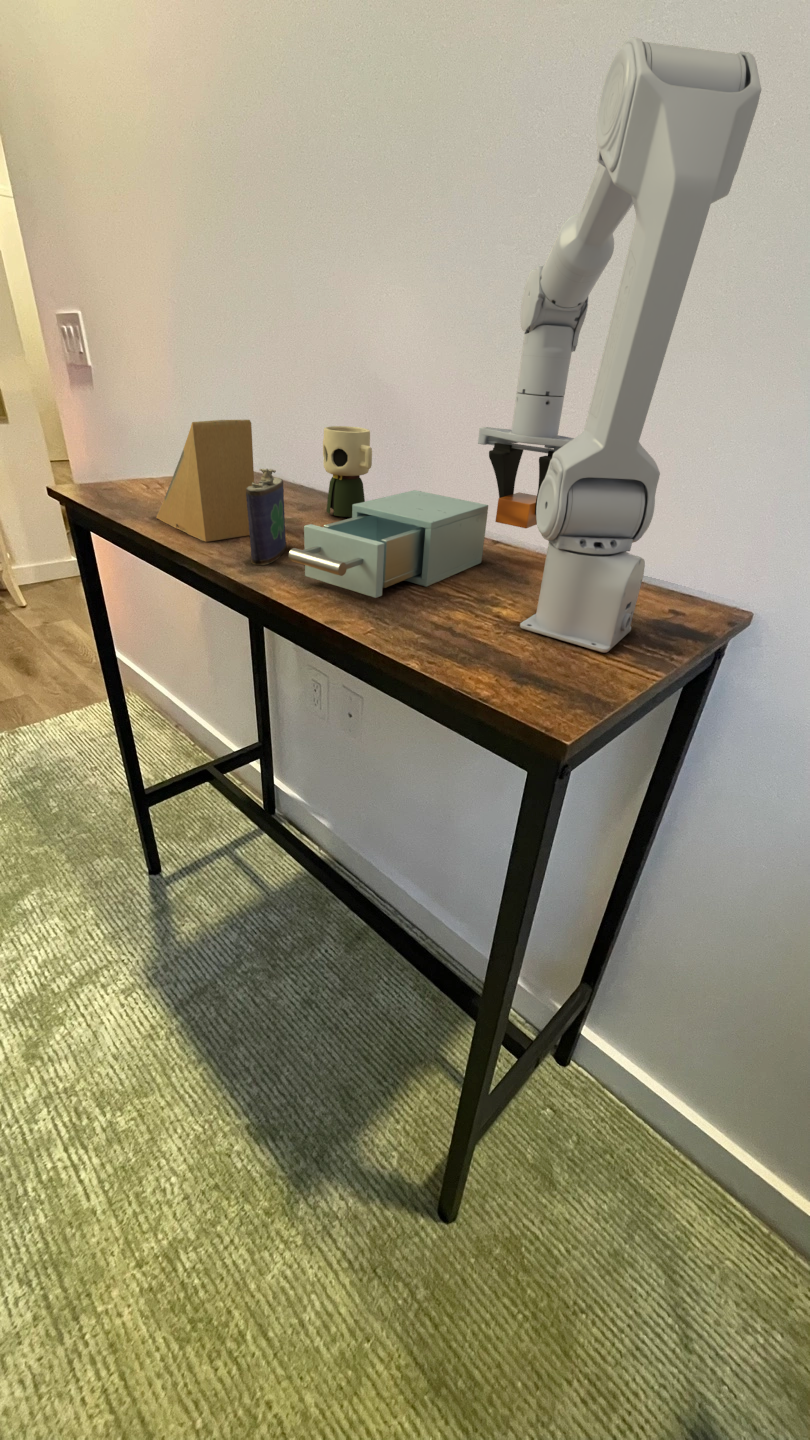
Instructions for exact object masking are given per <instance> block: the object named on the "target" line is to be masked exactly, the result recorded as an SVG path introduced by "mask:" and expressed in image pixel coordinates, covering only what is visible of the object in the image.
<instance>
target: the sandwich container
mask: <svg viewBox="0 0 810 1440" xmlns="http://www.w3.org/2000/svg"><path fill="white" fill-rule="evenodd" d="M252 428H253V427H252V422H251V419H213V420H199V421H192V422H191V424H190V428H189V431H188V435H187V436H186V440H185V443H184V446H183V449H182V452H181V454H180V457H179V460H178V462H177V465H176V467H175V470H174V473H173V475H172V478H171V481H170V483H169V486H168V489H167V490H166V493H165V496H164V498H163V499H162V500H163V501H162V503H161V505H160V508H159V510H158V512H157V515H156V517H155V518H156V519H158V520H159V521H161V522H163V523H164V524H167V525H169V526H171V527H173V528H175V529H177V530H179V531H181V532H183V533H185V534H187V535H189V536H191V537H194V538H195V539H198V540H200V541H203V542H205V543H207V542H208V543H209V542H215V541H220V540H226V539H227V540H228V539H235V538H240V537H246V536H250V535H249V521H248V511H247V501H246V499H247V498H246V488H248V486H252V483H255V471H254V451H253V450H254V449H253V430H252Z"/></svg>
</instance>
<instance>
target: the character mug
mask: <svg viewBox="0 0 810 1440" xmlns="http://www.w3.org/2000/svg"><path fill="white" fill-rule="evenodd" d="M322 457H323V468H324V470H325V472H326V473H327V474H330V475H332V476H331V478H330V480H329V485H328V492H327V503H326V513H327V514H329V515H330V514H331V510H333V516H335V517H343V518H344V517H348V518H352V505H353V504H357V503H361V502H366V499H365V489H364V482H363V480H362V478H361V476H364V475H366V474H368V473H369V471H370V469H371V468H372V466H373V449H372V447H371V430H370V429H368V428H364V427H359V426H345V425H333V426H332V425H331V426H326V427H324V428H323V439H322Z"/></svg>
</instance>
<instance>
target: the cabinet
mask: <svg viewBox="0 0 810 1440" xmlns="http://www.w3.org/2000/svg"><path fill="white" fill-rule="evenodd" d="M365 514H368V515H372V516H376V517H380V518H385V519H389V520H393V521H397V522H402V523H406V524H410V525H414V526H419V527H423V528H426V529H425V541H424V554H423V567H422V573H421V574H418V575H416V576H413V577H411V578H408V579H406V580H404V581H405V582H409V583H412V584H415V585H418V586H422V587H425V588H427V587H429V586H432V585H434V584H436V583H438V582H441V581H443V580H445V579H448V578H450V577H452V576H455V575H456V574H459V573H461V572H464V571H466V570H468V569H470V568H473V567H475V566H478V565H480V564H481V563H482V560H483V553H484V546H485V537H486V529H487V521H488V514H489V504H486V503H480V502H475V501H471V500H465V499H461V498H455V497H450V496H445V495H440V494H436V493H431V492H426V491H421V490H416V489H413V490H410V491H404V492H400V493H396V494H391V495H388V496H383V497H379V498H375V499H370V500H365V502H361V503H357V504H353V505H352V518H354V517H358V516H362V515H365Z"/></svg>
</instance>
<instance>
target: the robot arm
mask: <svg viewBox="0 0 810 1440" xmlns="http://www.w3.org/2000/svg"><path fill="white" fill-rule="evenodd" d="M761 93H762V86H761V80H760V74H759V70H758V64H757V59H756V57H755V56H754V54H753V53H751V52H750V51H739V52H738V53H733V52H725V51H719V50H711V49H703V48H695V47H687V46H679V45H674V44H673V45H672V44H664V43H657V42H650V41H644V40H643V39H642V38H639V37H636V36H631V37H629V38H627V39H626V41H625V42H624V43H623V44H622V46H621V47H620V48H619V49H618V50H617V52H616V53H615V54H614V56H613V58H612V60H611V62H610V65H609V67H608V70H607V73H606V75H605V78H604V81H603V84H602V88H601V93H600V98H599V101H598V102H599V103H598V108H597V114H596V124H595V139H596V144H597V145H596V146H597V147H596V161H597V162H598V164H597V166H596V169H595V172H594V174H593V177H592V180H591V183H590V184H589V188H588V190H587V193H586V196H585V199H584V201H583V204H582V206H581V209H580V212H579V213H576V214H573V215H572V216H570V217H569V218H566V220H565V221H564V222H563V224H562V226H561V227H560V229H559V232H558V233H557V236H556V238H555V240H554V242H553V245H552V246H551V249H550V252H549V254H548V256H547V259H545V262H544V264H542V265H537V267H536V268H533V269H532V270H530V271H529V273H528V276H527V278H526V281H525V284H524V288H523V293H522V297H521V305H520V327H521V330H522V332H524V333H523V341H522V348H521V355H520V364H519V372H518V379H517V385H516V393H515V401H514V409H513V416H512V424H511V429H510V428H499V427H497V428H496V427H490V426H483V427H479V430H478V439H477V444H478V445H483V446H486V445H489V446H493V447H492V449H491V450H489V451H488V458H489V460H490V463H491V465H492V469H493V472H494V475H495V480H496V484H497V488H498V489H497V491H498V499H499V498H502V497H505V496H508V495H512V494H515V485H516V479H517V474H518V470H519V467H520V463H521V459H522V456H523V454H524V451H529V452H530V451H531V452H536V453H542V454H547V455H542V456H539V457H538V487H537V493H536V496H537V498H536V505H535V515H536V521H537V525H536V526H537V530H538V532H539V533H540V534H541V536H542V538H543V539H544V540H546V541H548V545H547V549H546V550H547V551H546V556H545V562H544V568H543V572H542V578H541V584H540V591H539V595H538V601H537V606H536V613H534V614H533V615H531V616H529V617H528V618H526V619H525V620H523V621H521V622H520V623H519V628H520V629H522V630H525V631H529V632H532V633H536V634H539V635H543V636H546V637H549V638H552V639H556V640H559V641H563V642H565V643H570V644H573V645H576V646H579V647H584V648H586V649H589V650H592V651H596V652H599V653H604V654H605V653H608V652H609V651H611V650H612V649H613V648H614V647H615V646H616V645H617V644H618V643H619V642H620V641H621V640H622V639H623V638H625V637H626V636H627V635H628V634H629V633H631V631H632V622H633V617H634V614H635V610H636V606H637V602H638V598H639V595H640V591H641V586H642V583H643V578H644V574H645V566H646V562H645V559H644V558H643V557H641V556H638V555H634V554H631V553H629V552H630V551H631V549H632V545H633V544H634V543H636V542H638V541H640V539H641V538H642V537H643V536H644V534H645V533H646V532H647V531H648V529H649V528H650V525H651V523H652V520H653V517H654V513H655V507H656V506H655V505H656V493H657V488H658V484H659V480H660V476H661V471H660V469H659V466H658V464H657V462H656V460H655V459H654V458H653V457H652V456H651V454H650V453H649V452H648V451H647V449H646V448H645V447H644V446H643V445H642V444H641V442H640V440H641V436H642V433H643V429H644V426H645V423H646V420H647V416H648V413H649V410H650V406H651V403H652V400H653V396H654V393H655V389H656V386H657V383H658V380H659V376H660V374H661V370H662V368H663V367H662V366H663V364H664V360H665V357H666V353H667V349H668V347H669V344H670V340H671V337H672V334H673V331H674V327H675V323H676V321H677V318H678V317H677V316H678V315H679V311H680V307H681V304H682V301H683V297H684V294H685V290H686V288H687V284H688V281H689V277H690V274H691V271H692V268H693V265H694V261H695V257H696V254H697V251H698V249H699V244H700V241H701V238H702V235H703V231H704V228H705V225H706V221H707V218H708V215H709V211H710V208H711V205H712V204H713V203H716V202H718V201H719V200H721V199H723V198H725V197H727V196H728V195H729V193H730V192H731V189H732V186H733V183H734V180H735V176H736V174H737V172H738V169H739V167H740V163H741V160H742V156H743V153H744V150H745V147H746V144H747V141H748V138H749V134H750V132H751V128H752V125H753V122H754V119H755V116H756V112H757V109H758V106H759V102H760V98H761V97H760V96H761ZM632 207H633V208H634V211H635V220H634V224H633V228H632V233H631V236H630V241H629V245H628V249H627V252H626V253H627V254H626V257H625V261H624V266H623V270H622V273H621V278H620V282H619V285H618V289H617V294H616V298H615V302H614V307H613V310H612V314H611V318H610V323H609V326H608V330H607V335H606V339H605V342H604V346H603V351H602V355H601V359H600V363H599V368H598V370H597V375H596V379H595V383H594V387H593V391H592V396H591V400H590V404H589V406H588V407H589V408H588V411H587V415H586V419H585V425H584V428H583V431H582V432H581V433H580V434H578V435H577V436H576V437H569V436H564V435H559V431H560V426H561V425H560V423H561V418H562V412H563V405H564V399H565V394H566V389H567V383H568V377H569V372H570V371H569V370H570V364H571V359H572V353H573V352H576V349H577V347H578V343H579V337H580V334H581V330H582V327H583V325H584V322H585V319H586V316H587V312H588V307H589V296H590V294H591V293H592V291H593V289H594V288H595V286H596V284H597V282H598V280H599V279H600V277H601V276H602V274H603V272H604V271H605V269H606V267H607V265H608V264H609V262H610V260H611V259H612V257H613V254H614V251H615V250H614V249H615V237H614V233H615V231H616V230H617V228H618V227H619V225H620V224H621V222H622V221H623V220H624V218H626V216H627V214H628V212H629V211H630V209H631V208H632ZM534 445H536V446H534ZM540 446H544V447H540Z"/></svg>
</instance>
